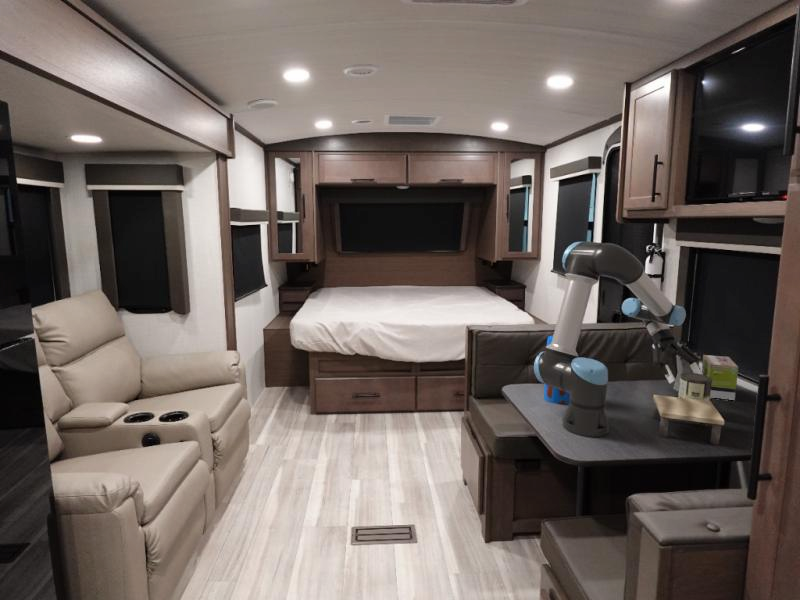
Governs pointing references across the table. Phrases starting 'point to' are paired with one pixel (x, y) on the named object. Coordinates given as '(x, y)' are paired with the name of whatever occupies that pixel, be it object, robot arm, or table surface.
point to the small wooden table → (687, 414)
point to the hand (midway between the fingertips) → (687, 380)
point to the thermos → (555, 389)
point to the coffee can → (695, 386)
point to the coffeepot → (683, 369)
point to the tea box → (721, 376)
